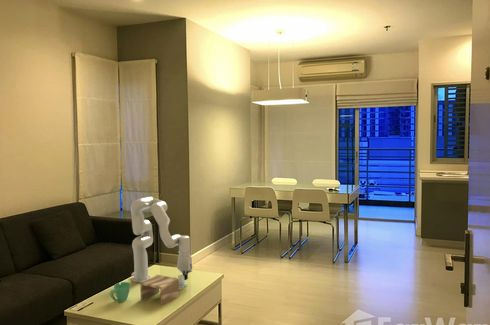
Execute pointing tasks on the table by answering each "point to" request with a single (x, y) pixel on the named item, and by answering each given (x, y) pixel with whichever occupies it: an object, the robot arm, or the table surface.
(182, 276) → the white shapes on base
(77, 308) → the table surface
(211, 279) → the table surface
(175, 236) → the robot arm
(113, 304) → the table surface
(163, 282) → the wooden bridge
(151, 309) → the table surface
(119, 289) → the mug
